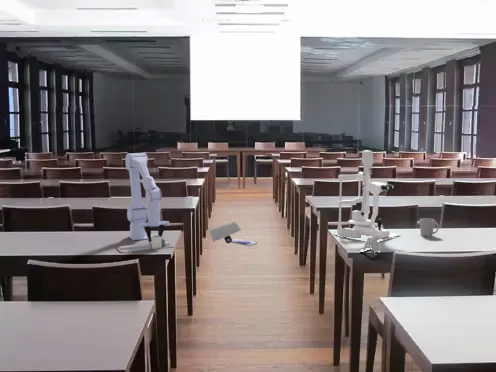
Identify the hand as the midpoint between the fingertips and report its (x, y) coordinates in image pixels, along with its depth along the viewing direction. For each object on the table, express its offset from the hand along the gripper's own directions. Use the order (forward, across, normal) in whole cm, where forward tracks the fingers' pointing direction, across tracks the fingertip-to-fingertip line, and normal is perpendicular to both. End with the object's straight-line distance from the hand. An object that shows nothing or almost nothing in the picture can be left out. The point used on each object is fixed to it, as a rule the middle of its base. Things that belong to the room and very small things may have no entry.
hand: (154, 241), depth 286 cm
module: (+2, 0, 0) cm, 2 cm away
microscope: (+3, +108, -24) cm, 111 cm away
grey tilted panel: (+1, +28, -5) cm, 28 cm away
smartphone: (+3, +42, -10) cm, 43 cm away
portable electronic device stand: (+4, +89, -53) cm, 104 cm away
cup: (+3, +137, -38) cm, 142 cm away
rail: (+3, -5, 0) cm, 6 cm away
